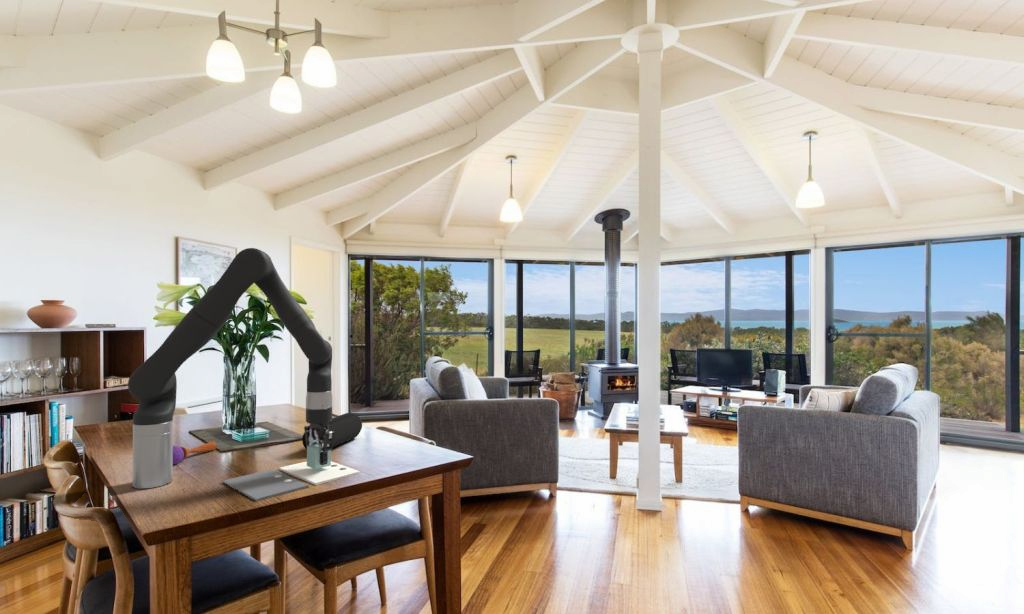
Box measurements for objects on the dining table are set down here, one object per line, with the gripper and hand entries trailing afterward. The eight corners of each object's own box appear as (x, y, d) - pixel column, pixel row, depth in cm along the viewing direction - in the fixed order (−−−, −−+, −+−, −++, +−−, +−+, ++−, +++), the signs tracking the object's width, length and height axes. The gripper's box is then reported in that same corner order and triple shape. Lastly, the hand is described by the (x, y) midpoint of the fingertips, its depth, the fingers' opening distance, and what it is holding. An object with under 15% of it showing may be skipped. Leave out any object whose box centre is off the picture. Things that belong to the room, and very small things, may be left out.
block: (306, 465, 155) (306, 445, 155) (322, 462, 158) (322, 442, 159) (315, 469, 151) (315, 448, 152) (330, 465, 155) (330, 445, 155)
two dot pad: (222, 482, 145) (222, 480, 145) (272, 471, 155) (272, 469, 155) (256, 501, 130) (256, 498, 130) (308, 487, 141) (308, 484, 141)
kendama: (221, 439, 179) (175, 450, 159) (217, 456, 179) (170, 469, 159) (207, 435, 180) (159, 445, 160) (203, 452, 180) (154, 464, 160)
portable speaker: (341, 436, 199) (341, 411, 199) (364, 438, 197) (364, 412, 197) (299, 454, 174) (299, 425, 174) (325, 456, 172) (325, 426, 172)
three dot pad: (278, 469, 157) (279, 467, 157) (321, 459, 167) (321, 457, 167) (315, 485, 142) (315, 482, 142) (359, 473, 153) (359, 471, 153)
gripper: (295, 404, 157) (295, 460, 157) (319, 410, 148) (319, 470, 147) (318, 401, 163) (318, 455, 162) (343, 407, 153) (343, 464, 153)
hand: (318, 462), depth 155 cm, fingers closed on block, 4 cm apart
